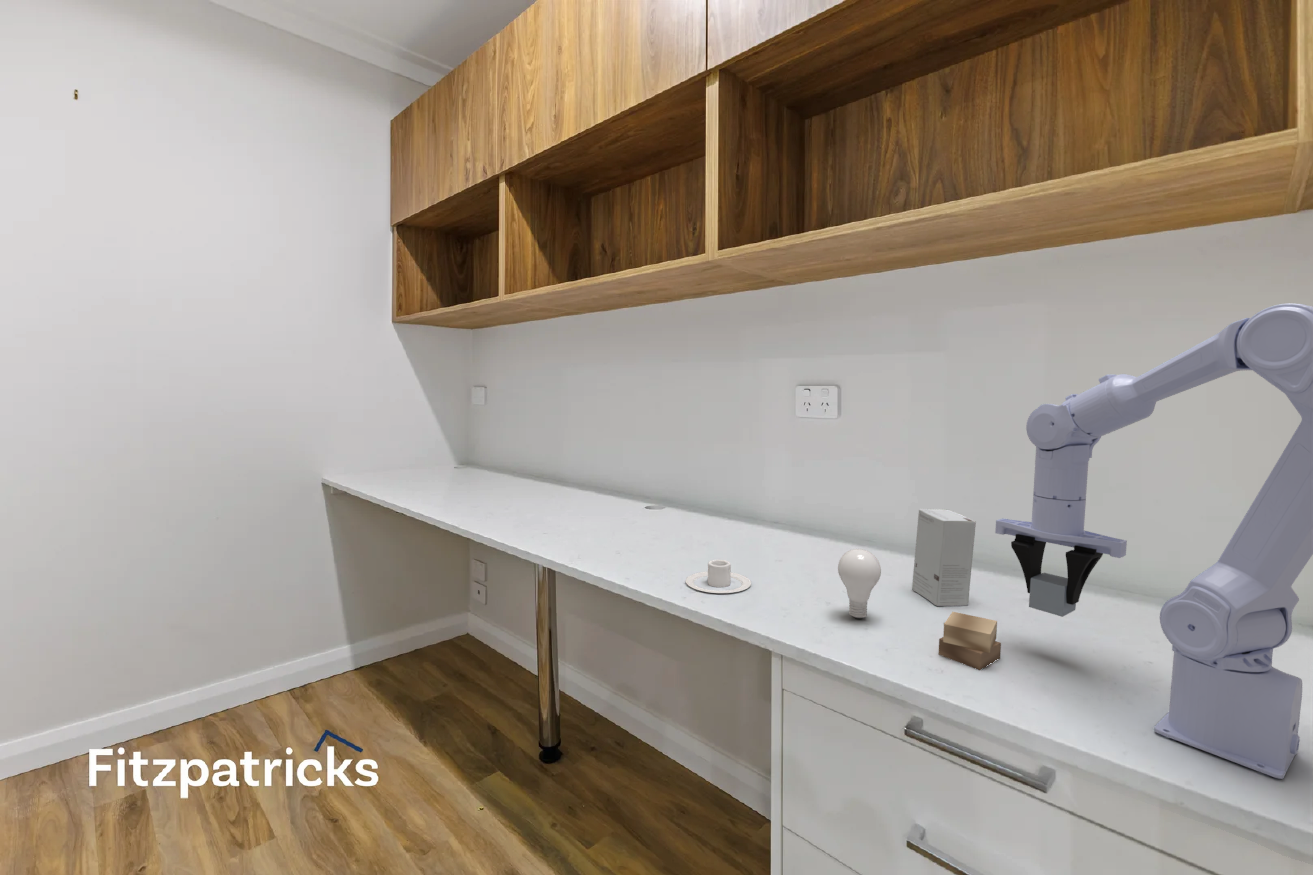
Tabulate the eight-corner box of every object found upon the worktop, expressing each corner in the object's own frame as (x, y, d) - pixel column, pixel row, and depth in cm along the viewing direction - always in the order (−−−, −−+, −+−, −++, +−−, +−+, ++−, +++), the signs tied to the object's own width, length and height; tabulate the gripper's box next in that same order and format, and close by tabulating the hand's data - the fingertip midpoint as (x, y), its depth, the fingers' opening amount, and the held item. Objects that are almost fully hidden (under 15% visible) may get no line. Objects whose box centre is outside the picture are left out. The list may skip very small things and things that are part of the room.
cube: (1075, 609, 78) (1077, 580, 78) (1062, 616, 76) (1064, 586, 76) (1042, 600, 82) (1044, 572, 81) (1028, 606, 79) (1030, 577, 79)
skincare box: (911, 590, 105) (914, 508, 104) (943, 589, 106) (947, 507, 105) (938, 608, 97) (942, 519, 96) (972, 606, 98) (977, 518, 96)
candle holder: (672, 583, 110) (672, 561, 110) (717, 570, 118) (718, 549, 117) (718, 602, 101) (719, 577, 100) (764, 586, 108) (765, 563, 108)
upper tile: (996, 638, 80) (997, 620, 80) (989, 653, 76) (990, 634, 76) (951, 628, 84) (952, 611, 83) (943, 641, 79) (943, 623, 79)
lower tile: (1000, 660, 79) (1001, 642, 79) (979, 672, 76) (980, 653, 76) (959, 645, 84) (960, 628, 84) (938, 656, 81) (939, 638, 80)
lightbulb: (871, 629, 88) (874, 558, 87) (830, 619, 92) (832, 550, 91) (884, 616, 94) (886, 548, 92) (844, 607, 97) (846, 541, 96)
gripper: (1138, 502, 74) (1130, 607, 75) (1014, 485, 85) (1009, 576, 87) (1117, 509, 70) (1109, 620, 71) (990, 490, 81) (985, 586, 83)
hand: (1052, 597), depth 79 cm, fingers closed on cube, 4 cm apart
